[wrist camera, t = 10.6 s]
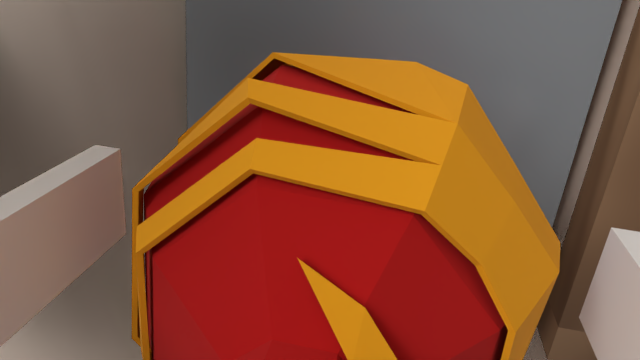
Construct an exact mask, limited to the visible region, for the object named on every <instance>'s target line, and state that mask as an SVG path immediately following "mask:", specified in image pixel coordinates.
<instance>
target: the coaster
mask: <svg viewBox="0 0 640 360" xmlns="http://www.w3.org/2000/svg"><path fill="white" fill-rule="evenodd" d="M621 3H622V0H186V65H187V130H188V129H189V128H190V127H192V126H193V125H194V124H195V123H196V122H197V121H198V120H199V119H200V118H201V117H202V116H204V115H205V114H206V113H207V112H208V111H209V110H210V109H211V108H212V107H213V106H215V105H216V104H217V103H218V102H219V101H220V100H221V99H222V98H223V97H224V96H225V95H227V94H228V93H229V92H230V91H231V90H232V89H233V88H234V87H235V86H236V85H237V84H239V83H240V82H241V81H242V80H243V79H244V78H245V77H246V76H247V75H248V74H249V73H251V72H252V71H253V70H254V69H255V68H256V67H257V66H258V65H259V64H260V63H261V62H263V61H264V60H265V59H266V58H267V57H268V56H269V55H270V54H271V53H272V52H277V53H292V54H308V55H323V56H339V57H354V58H370V59H384V60H398V61H412V62H418V63H420V64H422V65H425V66H427V67H429V68H431V69H434V70H436V71H438V72H441V73H443V74H445V75H447V76H450V77H452V78H454V79H457V80H459V81H461V82H463V83H466V84H468V85H469V87H470V89H471V90H472V92H473V94H474V95H475V97H476V99H477V100H478V102H479V104H480V105H481V107H482V109H483V111H484V112H485V114H486V116H487V117H488V119H489V121H490V122H491V124H492V126H493V127H494V129H495V131H496V132H497V134H498V136H499V138H500V139H501V141H502V143H503V144H504V146H505V148H506V149H507V151H508V153H509V154H510V156H511V158H512V159H513V161H514V163H515V164H516V166H517V168H518V170H519V171H520V173H521V175H522V177H523V178H524V180H525V182H526V184H527V185H528V187H529V189H530V191H531V192H532V194H533V196H534V198H535V199H536V201H537V203H538V205H539V206H540V208H541V210H542V212H543V213H544V215H545V217H546V219H547V220H548V222H549V224H550V226H551V227H553V224H554V220H555V217H556V214H557V211H558V207H559V204H560V201H561V198H562V194H563V191H564V188H565V185H566V181H567V178H568V175H569V172H570V168H571V165H572V162H573V159H574V155H575V152H576V149H577V146H578V142H579V139H580V136H581V133H582V129H583V126H584V123H585V120H586V116H587V113H588V110H589V107H590V103H591V100H592V97H593V94H594V90H595V87H596V84H597V81H598V77H599V74H600V71H601V68H602V64H603V61H604V58H605V55H606V52H607V48H608V45H609V42H610V39H611V35H612V32H613V29H614V26H615V22H616V19H617V16H618V13H619V9H620V6H621Z"/></svg>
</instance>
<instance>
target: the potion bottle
mask: <svg viewBox="0 0 640 360" xmlns="http://www.w3.org/2000/svg"><path fill="white" fill-rule="evenodd" d="M150 182H151V184H150V185H149V187H148V189H147V190H146V192H145V194H144V187H145V186H147V185H148V184H149V183H150ZM143 196H144V222H143ZM144 253H145V263H144ZM559 270H560V241H559V240H558V238H557V236H556V234H555V233H554V231H553V229H552V227H551V226H550V224H549V222H548V220H547V219H546V217H545V215H544V213H543V212H542V210H541V208H540V206H539V205H538V203H537V201H536V199H535V198H534V196H533V194H532V192H531V191H530V189H529V187H528V185H527V184H526V182H525V180H524V178H523V177H522V175H521V173H520V171H519V170H518V168H517V166H516V164H515V163H514V161H513V159H512V158H511V156H510V154H509V153H508V151H507V149H506V148H505V146H504V144H503V143H502V141H501V139H500V138H499V136H498V134H497V132H496V131H495V129H494V127H493V126H492V124H491V122H490V121H489V119H488V117H487V116H486V114H485V112H484V111H483V109H482V107H481V105H480V104H479V102H478V100H477V99H476V97H475V95H474V94H473V92H472V90H471V89H470V87H469V85H468V84H466V83H463V82H461V81H459V80H457V79H454V78H452V77H450V76H447V75H445V74H443V73H441V72H438V71H436V70H434V69H431V68H429V67H427V66H425V65H422V64H420V63H418V62H412V61H398V60H384V59H370V58H354V57H339V56H323V55H308V54H292V53H277V52H272V53H271V54H270V55H269V56H268V57H267V58H266V59H265V60H264V61H263V62H261V63H260V64H259V65H258V66H257V67H256V68H255V69H254V70H253V71H252V72H251V73H249V74H248V75H247V76H246V77H245V78H244V79H243V80H242V81H241V82H240V83H239V84H237V85H236V86H235V87H234V88H233V89H232V90H231V91H230V92H229V93H228V94H227V95H225V96H224V97H223V98H222V99H221V100H220V101H219V102H218V103H217V104H216V105H215V106H213V107H212V108H211V109H210V110H209V111H208V112H207V113H206V114H205V115H204V116H202V117H201V118H200V119H199V120H198V121H197V122H196V123H195V124H194V125H193V126H192V127H190V128H189V129H188V130H187V131H186V132H185V133H184V134H183V135H182V136H181V137H180V138H178V145H177V146H176V147H175V148H174V149H173V150H172V151H171V152H170V153H169V154H168V155H167V156H166V157H165V158H164V159H162V160H161V161H160V162H159V163H158V164H157V165H156V166H155V167H154V168H153V169H152V170H151V171H150V172H149V173H148V174H147V175H146V176H145V177H144V178H143V179H142V180H141V181H139V182H138V183H137V184H136V185H135V187H134V188H133V189H132V339H133V340H134V341H135V342H136V343H137V344H138V345H139V346H140V347H141V352H142V358H143V360H523V358H524V356H525V353H526V351H527V349H528V346H529V344H530V341H531V339H532V337H533V334H534V332H535V329H536V327H537V325H538V322H539V320H540V317H541V315H542V313H543V310H544V308H545V305H546V303H547V301H548V298H549V296H550V293H551V291H552V289H553V286H554V284H555V281H556V279H557V277H558V274H559ZM145 275H146V293H145Z"/></svg>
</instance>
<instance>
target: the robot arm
mask: <svg viewBox="0 0 640 360" xmlns="http://www.w3.org/2000/svg"><path fill="white" fill-rule="evenodd" d="M125 234H126V224H125V209H124V194H123V180H122V165H121V150H120V149H119V148H113V147H106V146H100V145H94V146H92V147H90V148H89V149H87V150H85V151H83V152H81V153H79V154H78V155H76V156H74V157H72V158H70V159H68V160H67V161H65V162H63V163H61V164H59V165H57V166H56V167H54V168H52V169H50V170H48V171H46V172H45V173H43V174H41V175H39V176H37V177H35V178H34V179H32V180H30V181H28V182H26V183H24V184H23V185H21V186H19V187H17V188H15V189H13V190H12V191H10V192H8V193H6V194H4V195H2V196H1V197H0V347H1V346H2V345H3V344H4V343H5V342H6V341H7V340H9V339H10V338H11V337H12V336H13V335H14V334H15V333H16V332H17V331H19V330H20V329H21V328H22V327H23V326H24V325H25V324H26V323H28V322H29V321H30V320H31V319H32V318H33V317H34V316H35V315H36V314H38V313H39V312H40V311H41V310H42V309H43V308H44V307H45V306H46V305H48V304H49V303H50V302H51V301H52V300H53V299H54V298H55V297H56V296H58V295H59V294H60V293H61V292H62V291H63V290H64V289H65V288H66V287H68V286H69V285H70V284H71V283H72V282H73V281H74V280H75V279H76V278H78V277H79V276H80V275H81V274H82V273H83V272H84V271H85V270H87V269H88V268H89V267H90V266H91V265H92V264H93V263H94V262H95V261H97V260H98V259H99V258H100V257H101V256H102V255H103V254H104V253H105V252H107V251H108V250H109V249H110V248H111V247H112V246H113V245H114V244H115V243H117V242H118V241H119V240H120V239H121V238H122V237H123V236H124V235H125ZM579 318H580V321H581V323H582V325H583V328H584V330H585V332H586V335H587V337H588V339H589V342H590V344H591V346H592V349H593V351H594V353H595V355H596V358H597V360H640V232H637V231H631V230H625V229H618V228H612V227H611V230H610V232H609V235H608V238H607V241H606V243H605V246H604V249H603V252H602V255H601V257H600V260H599V263H598V266H597V268H596V271H595V274H594V277H593V280H592V282H591V285H590V288H589V291H588V293H587V296H586V299H585V302H584V305H583V307H582V310H581V313H580V316H579Z"/></svg>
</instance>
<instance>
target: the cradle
mask: <svg viewBox="0 0 640 360" xmlns="http://www.w3.org/2000/svg"><path fill="white" fill-rule="evenodd" d="M611 227H612V228H618V229H625V230H631V231H637V232H640V7H639V10H638V13H637V16H636V19H635V22H634V26H633V29H632V32H631V35H630V38H629V41H628V44H627V47H626V50H625V53H624V57H623V60H622V63H621V66H620V69H619V72H618V75H617V78H616V81H615V85H614V88H613V91H612V94H611V97H610V100H609V103H608V106H607V109H606V112H605V116H604V119H603V122H602V125H601V128H600V131H599V134H598V137H597V140H596V143H595V147H594V150H593V153H592V156H591V159H590V162H589V165H588V168H587V171H586V174H585V178H584V181H583V184H582V187H581V190H580V193H579V196H578V199H577V202H576V205H575V209H574V212H573V215H572V218H571V221H570V224H569V227H568V230H567V233H566V236H565V240H564V243H563V246H562V249H561V252H560V270H559V274H558V277H557V279H556V281H555V284H554V286H553V289H552V291H551V293H550V296H549V298H548V301H547V303H546V305H545V308H544V310H543V313H542V315H541V317H540V320H539V322H538V325H537V327H538V331H539V334H540V337H541V341H542V344H543V347H544V350H545V354H546V357H547V359H548V360H597V358H596V355H595V353H594V351H593V349H592V346H591V344H590V342H589V339H588V337H587V335H586V332H585V330H584V328H583V325H582V323H581V321H580V318H579V316H580V313H581V310H582V307H583V305H584V302H585V299H586V296H587V293H588V291H589V288H590V285H591V282H592V280H593V277H594V274H595V271H596V268H597V266H598V263H599V260H600V257H601V255H602V252H603V249H604V246H605V243H606V241H607V238H608V235H609V232H610V230H611Z"/></svg>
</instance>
